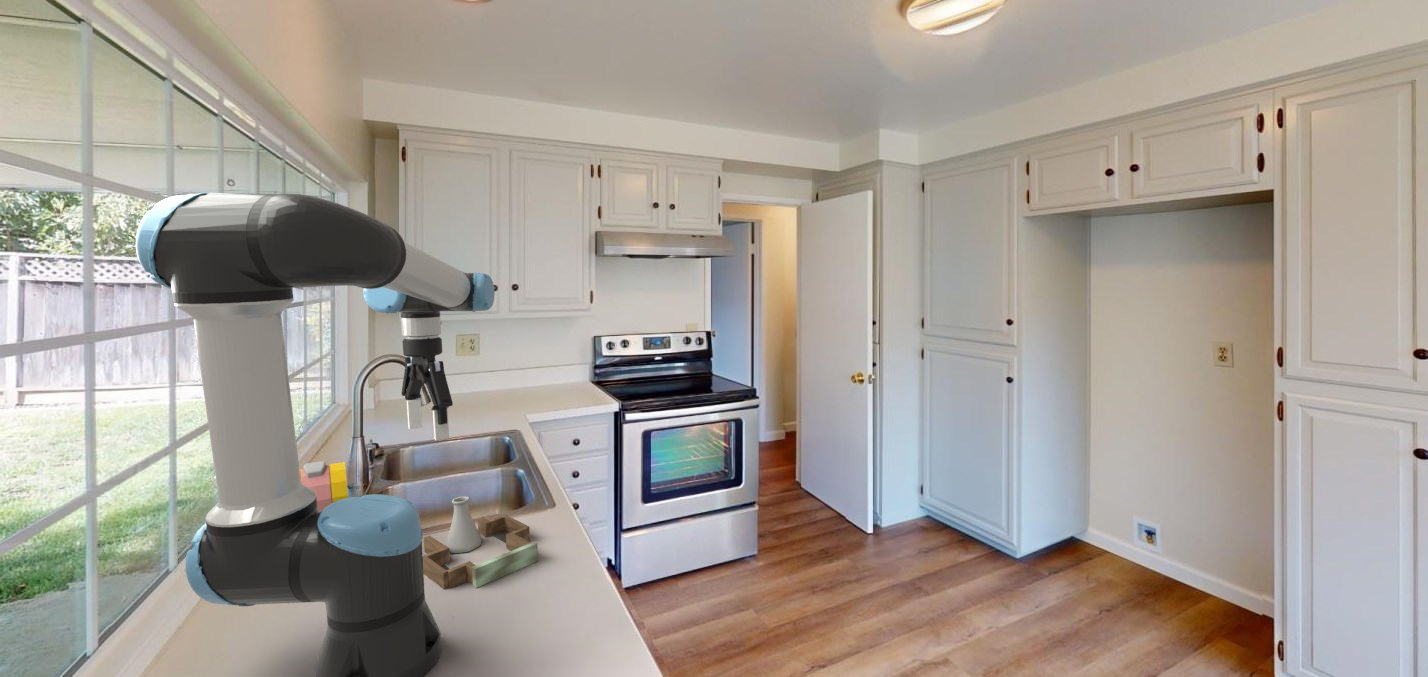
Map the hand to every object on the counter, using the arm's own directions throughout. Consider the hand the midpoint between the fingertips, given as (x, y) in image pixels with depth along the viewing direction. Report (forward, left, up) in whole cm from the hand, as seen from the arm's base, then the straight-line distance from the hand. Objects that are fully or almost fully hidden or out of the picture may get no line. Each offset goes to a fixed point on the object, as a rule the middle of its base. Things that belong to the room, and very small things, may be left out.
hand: (428, 433), depth 122 cm
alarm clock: (-19, +4, -21) cm, 29 cm away
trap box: (-1, -22, -21) cm, 30 cm away
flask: (-1, -15, -21) cm, 26 cm away
